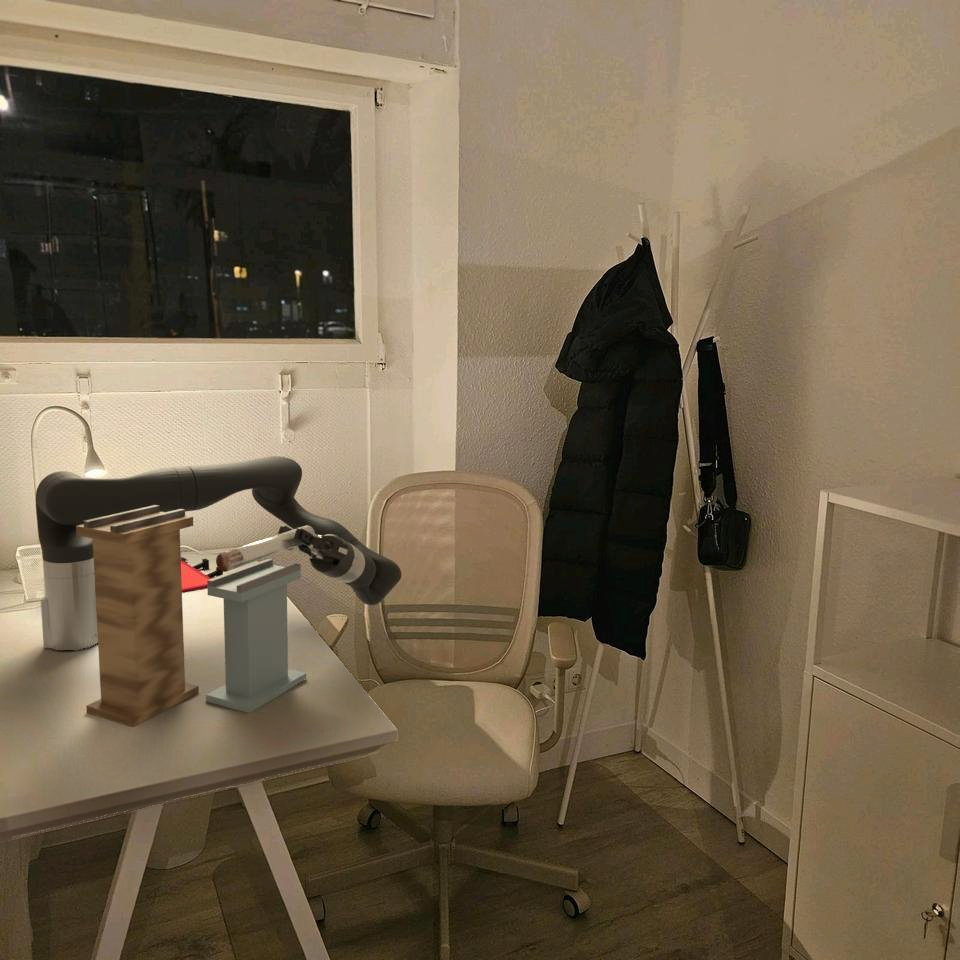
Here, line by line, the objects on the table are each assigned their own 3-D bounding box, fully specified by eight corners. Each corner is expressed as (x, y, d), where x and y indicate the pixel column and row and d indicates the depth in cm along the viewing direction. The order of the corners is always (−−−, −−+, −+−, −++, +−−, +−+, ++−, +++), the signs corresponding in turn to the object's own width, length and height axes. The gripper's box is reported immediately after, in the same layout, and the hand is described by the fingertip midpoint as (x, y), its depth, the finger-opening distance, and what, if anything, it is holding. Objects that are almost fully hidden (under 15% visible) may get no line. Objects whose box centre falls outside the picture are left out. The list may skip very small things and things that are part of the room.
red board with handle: (185, 556, 222) (128, 566, 213) (185, 546, 222) (127, 555, 212) (233, 585, 200) (172, 597, 190) (233, 574, 200) (171, 586, 190)
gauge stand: (132, 726, 127) (123, 527, 122) (86, 712, 132) (75, 519, 126) (198, 692, 140) (192, 510, 134) (154, 680, 144) (147, 503, 139)
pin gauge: (230, 573, 130) (230, 554, 130) (216, 570, 131) (215, 552, 131) (314, 542, 150) (315, 526, 149) (301, 540, 151) (301, 524, 151)
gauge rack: (249, 713, 133) (246, 587, 129) (206, 701, 137) (202, 579, 133) (306, 679, 146) (305, 565, 143) (265, 669, 150) (263, 557, 146)
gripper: (314, 536, 164) (263, 507, 149) (374, 545, 158) (328, 516, 143) (302, 572, 162) (250, 546, 147) (363, 583, 156) (315, 557, 141)
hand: (289, 532), depth 145 cm, fingers closed on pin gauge, 3 cm apart
